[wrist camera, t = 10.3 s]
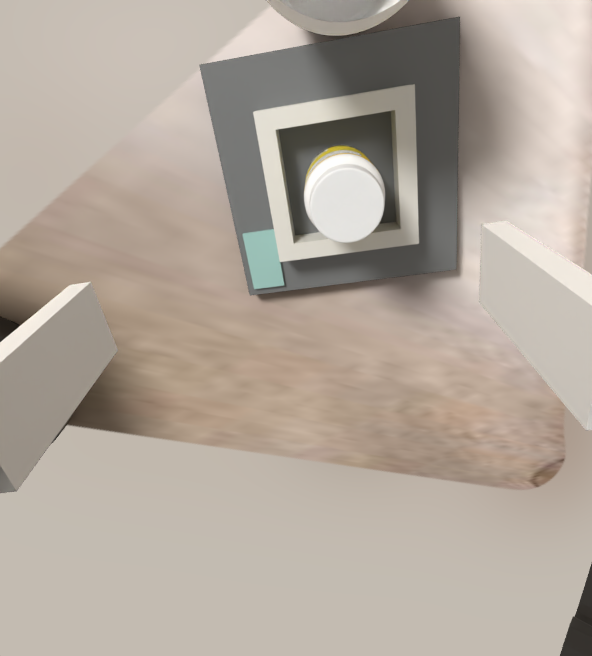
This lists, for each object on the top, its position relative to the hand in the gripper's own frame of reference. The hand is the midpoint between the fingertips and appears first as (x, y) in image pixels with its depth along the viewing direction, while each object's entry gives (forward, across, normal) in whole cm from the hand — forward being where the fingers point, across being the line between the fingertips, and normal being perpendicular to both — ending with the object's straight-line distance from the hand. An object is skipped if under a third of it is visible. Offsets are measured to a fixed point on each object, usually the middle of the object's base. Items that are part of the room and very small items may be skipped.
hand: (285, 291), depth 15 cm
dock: (+20, +3, 0) cm, 20 cm away
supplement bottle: (+19, +3, 0) cm, 19 cm away
